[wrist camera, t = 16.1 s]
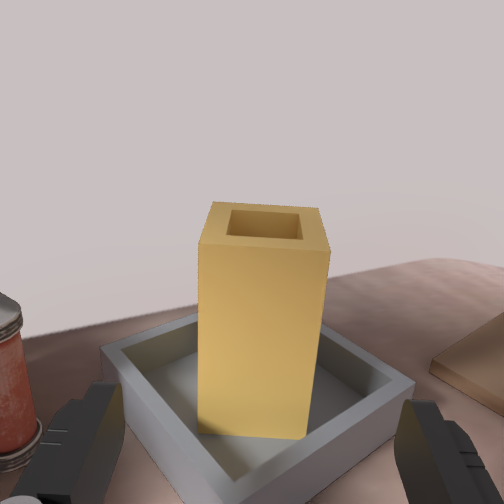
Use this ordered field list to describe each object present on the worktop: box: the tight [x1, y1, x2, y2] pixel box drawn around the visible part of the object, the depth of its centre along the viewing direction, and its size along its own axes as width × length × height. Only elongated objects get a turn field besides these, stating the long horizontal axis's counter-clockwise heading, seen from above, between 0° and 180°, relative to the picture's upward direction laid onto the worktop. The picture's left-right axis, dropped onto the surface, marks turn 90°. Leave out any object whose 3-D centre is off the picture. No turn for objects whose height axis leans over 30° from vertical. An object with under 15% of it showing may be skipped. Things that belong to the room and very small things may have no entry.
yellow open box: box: [198, 202, 331, 440], centre depth 23 cm, size 7×5×10 cm
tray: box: [100, 312, 416, 504], centre depth 24 cm, size 12×12×3 cm
